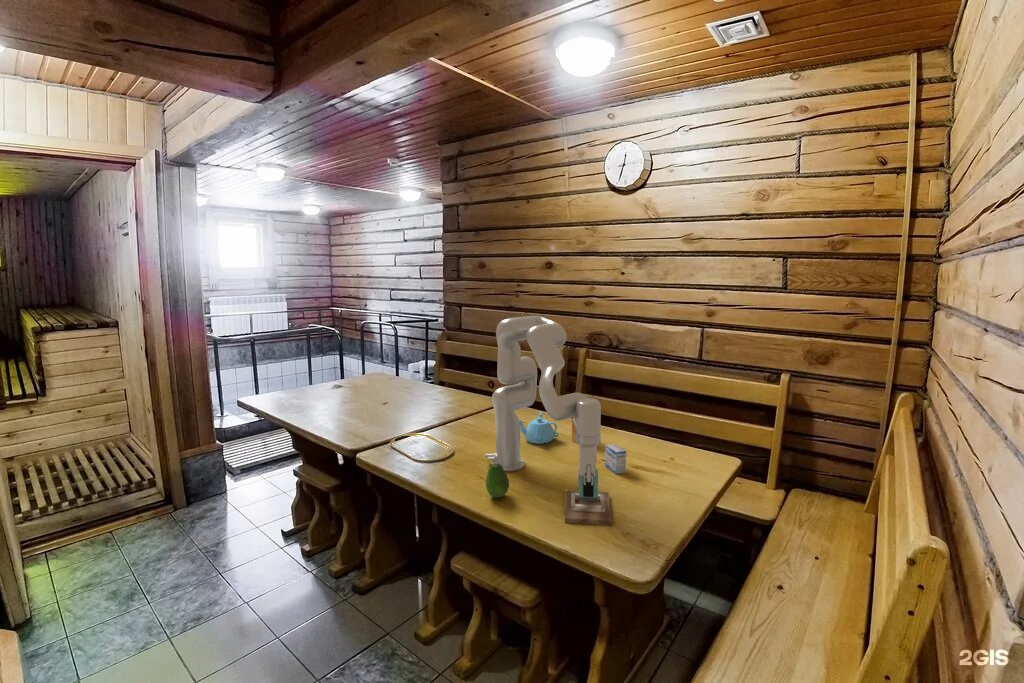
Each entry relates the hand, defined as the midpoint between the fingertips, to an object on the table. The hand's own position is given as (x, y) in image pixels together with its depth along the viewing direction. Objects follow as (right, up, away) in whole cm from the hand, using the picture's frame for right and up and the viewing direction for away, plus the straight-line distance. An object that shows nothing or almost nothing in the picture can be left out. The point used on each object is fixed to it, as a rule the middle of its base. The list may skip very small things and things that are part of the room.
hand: (588, 492), depth 154 cm
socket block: (0, -6, +1) cm, 6 cm away
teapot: (-13, +4, +62) cm, 63 cm away
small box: (+7, +4, +58) cm, 58 cm away
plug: (0, -2, 0) cm, 2 cm away
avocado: (-29, -5, +10) cm, 31 cm away
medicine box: (+15, -1, +30) cm, 33 cm away
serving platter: (-63, +1, +55) cm, 84 cm away
